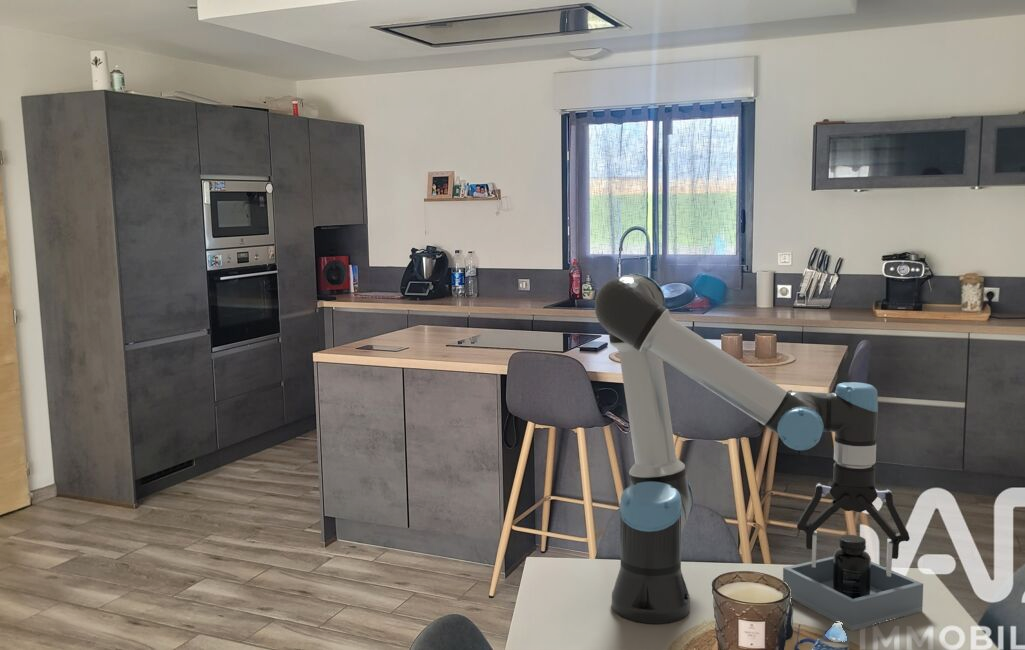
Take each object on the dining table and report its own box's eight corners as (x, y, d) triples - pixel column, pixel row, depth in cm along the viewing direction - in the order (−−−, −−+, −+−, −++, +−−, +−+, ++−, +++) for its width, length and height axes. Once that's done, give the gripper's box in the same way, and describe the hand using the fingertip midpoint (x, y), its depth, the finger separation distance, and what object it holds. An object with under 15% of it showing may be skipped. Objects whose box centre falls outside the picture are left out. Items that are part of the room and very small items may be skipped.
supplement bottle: (877, 599, 166) (879, 540, 165) (856, 608, 163) (857, 547, 161) (846, 587, 172) (848, 530, 171) (825, 596, 168) (826, 537, 167)
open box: (782, 594, 172) (783, 567, 171) (849, 577, 179) (849, 552, 179) (852, 631, 156) (853, 602, 155) (922, 611, 163) (923, 583, 163)
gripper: (923, 463, 164) (919, 570, 166) (787, 453, 172) (784, 554, 175) (928, 474, 157) (923, 585, 159) (785, 462, 165) (782, 568, 168)
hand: (850, 569), depth 167 cm, fingers open, 13 cm apart
